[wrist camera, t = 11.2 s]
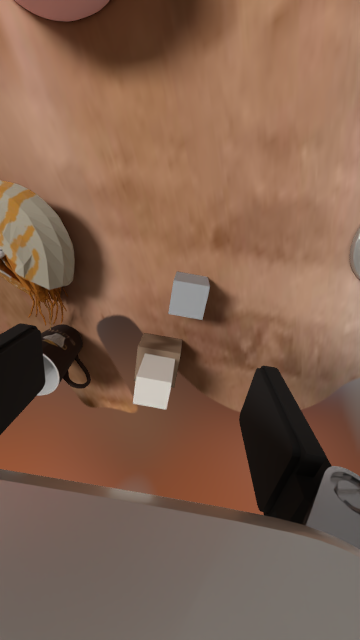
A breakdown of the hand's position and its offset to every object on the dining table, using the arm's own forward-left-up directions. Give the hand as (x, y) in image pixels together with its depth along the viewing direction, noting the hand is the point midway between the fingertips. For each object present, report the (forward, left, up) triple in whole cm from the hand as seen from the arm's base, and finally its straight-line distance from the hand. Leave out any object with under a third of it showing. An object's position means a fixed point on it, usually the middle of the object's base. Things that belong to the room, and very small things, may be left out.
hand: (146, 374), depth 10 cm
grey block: (-2, +4, -28) cm, 29 cm away
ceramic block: (+1, +17, -23) cm, 29 cm away
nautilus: (+22, +4, -29) cm, 36 cm away
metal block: (+1, +17, -28) cm, 33 cm away
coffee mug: (+18, +19, -28) cm, 38 cm away
